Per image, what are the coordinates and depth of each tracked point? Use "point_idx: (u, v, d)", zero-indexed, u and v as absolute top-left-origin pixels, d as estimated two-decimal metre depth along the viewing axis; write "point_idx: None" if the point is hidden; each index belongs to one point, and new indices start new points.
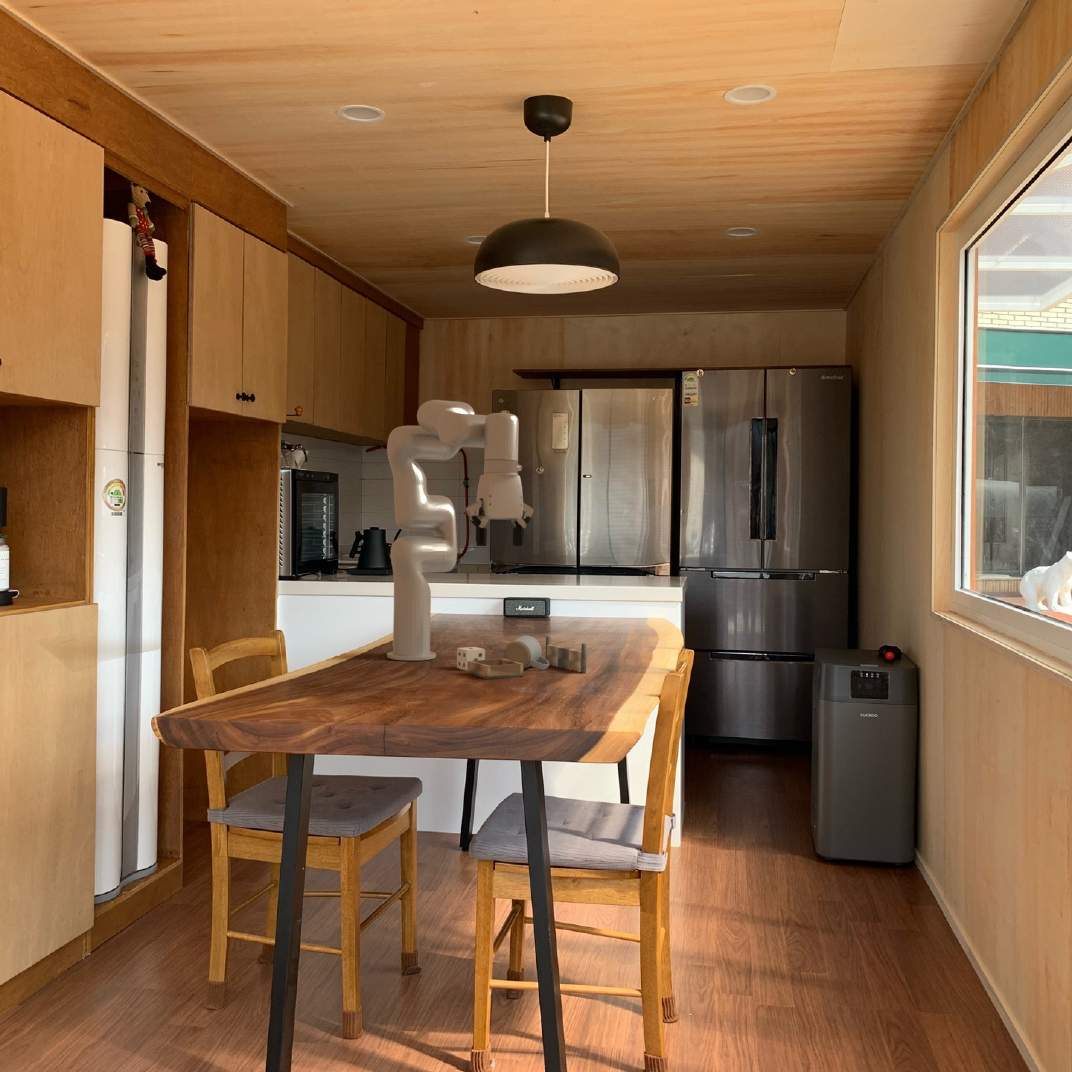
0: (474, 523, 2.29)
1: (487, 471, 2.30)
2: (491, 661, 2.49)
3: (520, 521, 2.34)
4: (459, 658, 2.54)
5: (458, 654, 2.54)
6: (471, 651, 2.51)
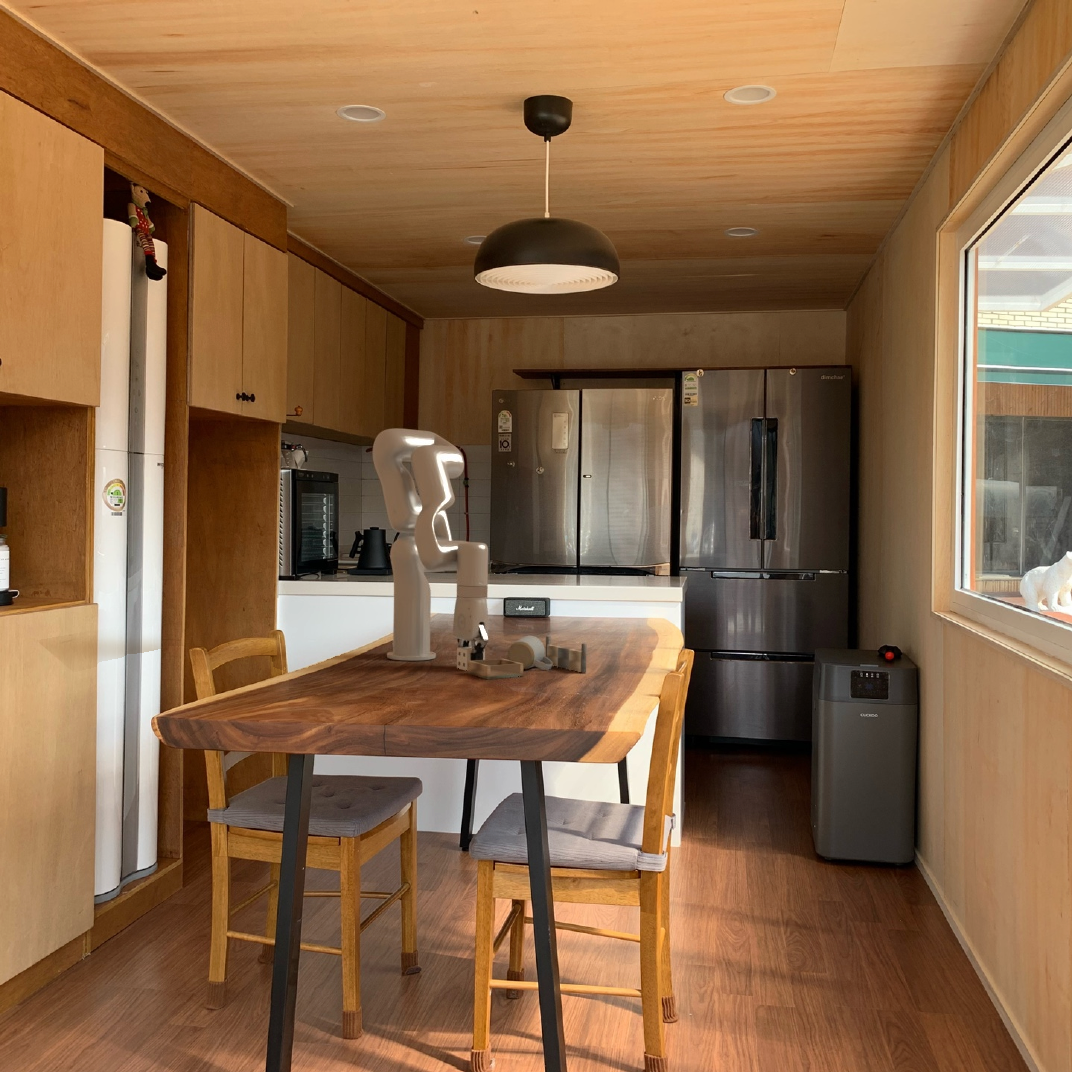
0: (480, 649, 2.50)
1: (480, 596, 2.51)
2: (491, 661, 2.49)
3: None
4: (459, 657, 2.54)
5: (458, 654, 2.54)
6: (471, 651, 2.51)
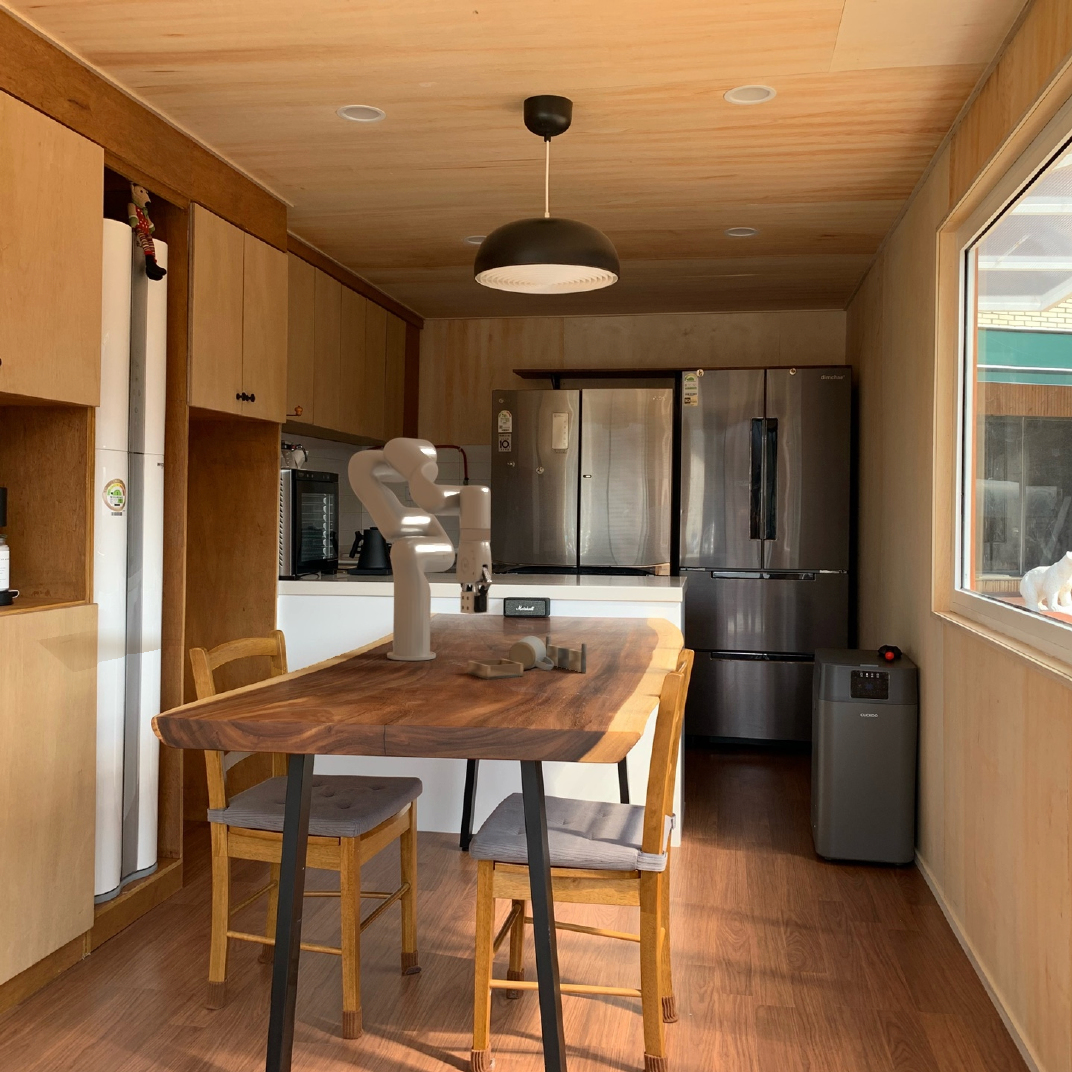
0: (484, 592, 2.49)
1: (483, 539, 2.50)
2: (491, 661, 2.49)
3: None
4: (462, 601, 2.53)
5: (461, 598, 2.53)
6: (475, 594, 2.50)
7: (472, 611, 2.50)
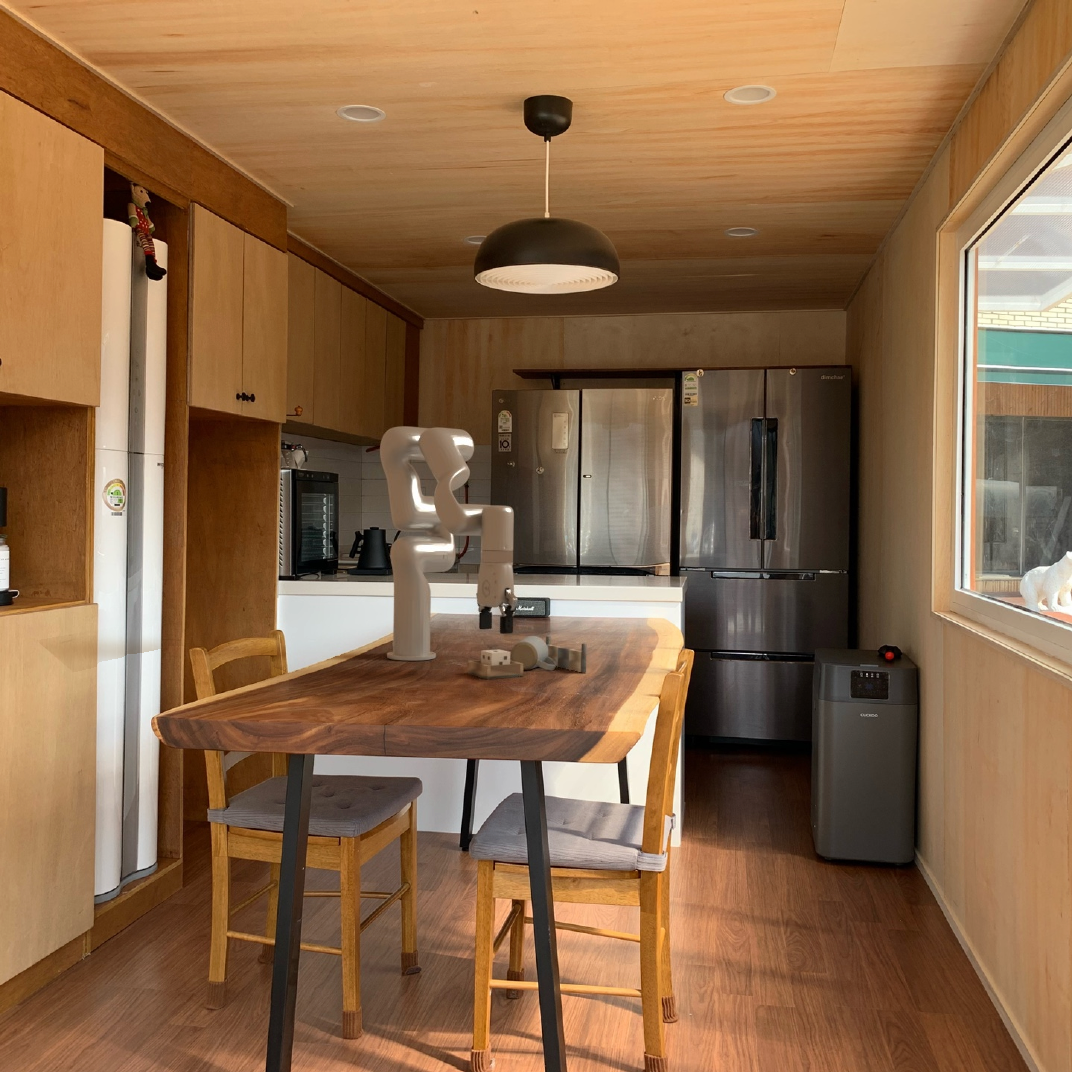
0: (510, 612, 2.38)
1: (505, 561, 2.41)
2: None
3: None
4: (483, 661, 2.44)
5: (482, 657, 2.44)
6: (496, 654, 2.42)
7: None
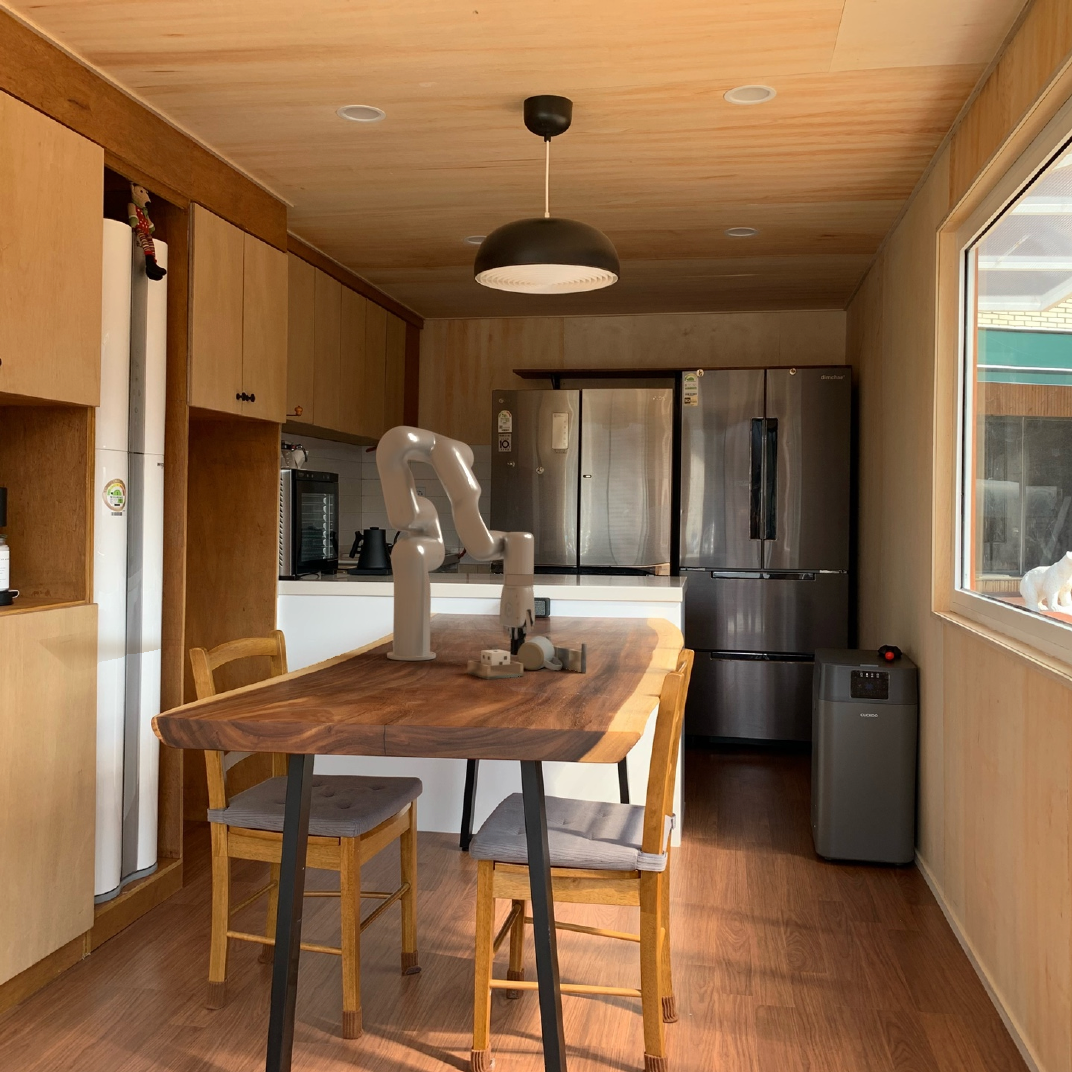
0: (522, 635, 2.59)
1: (527, 584, 2.58)
2: None
3: None
4: (483, 661, 2.44)
5: (482, 657, 2.44)
6: (496, 654, 2.42)
7: None
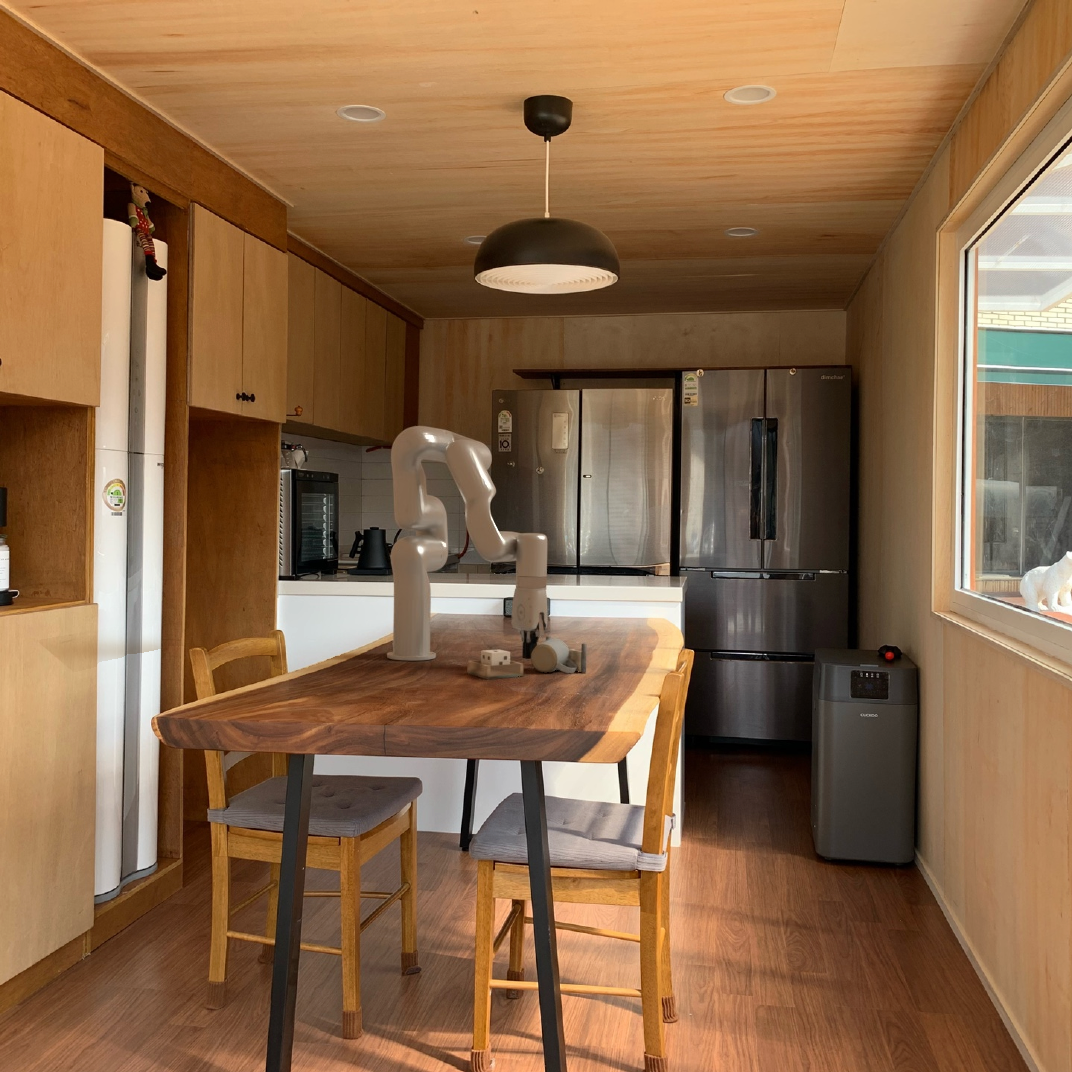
0: (535, 639, 2.54)
1: (540, 587, 2.52)
2: None
3: None
4: (483, 661, 2.44)
5: (482, 657, 2.44)
6: (496, 654, 2.42)
7: None
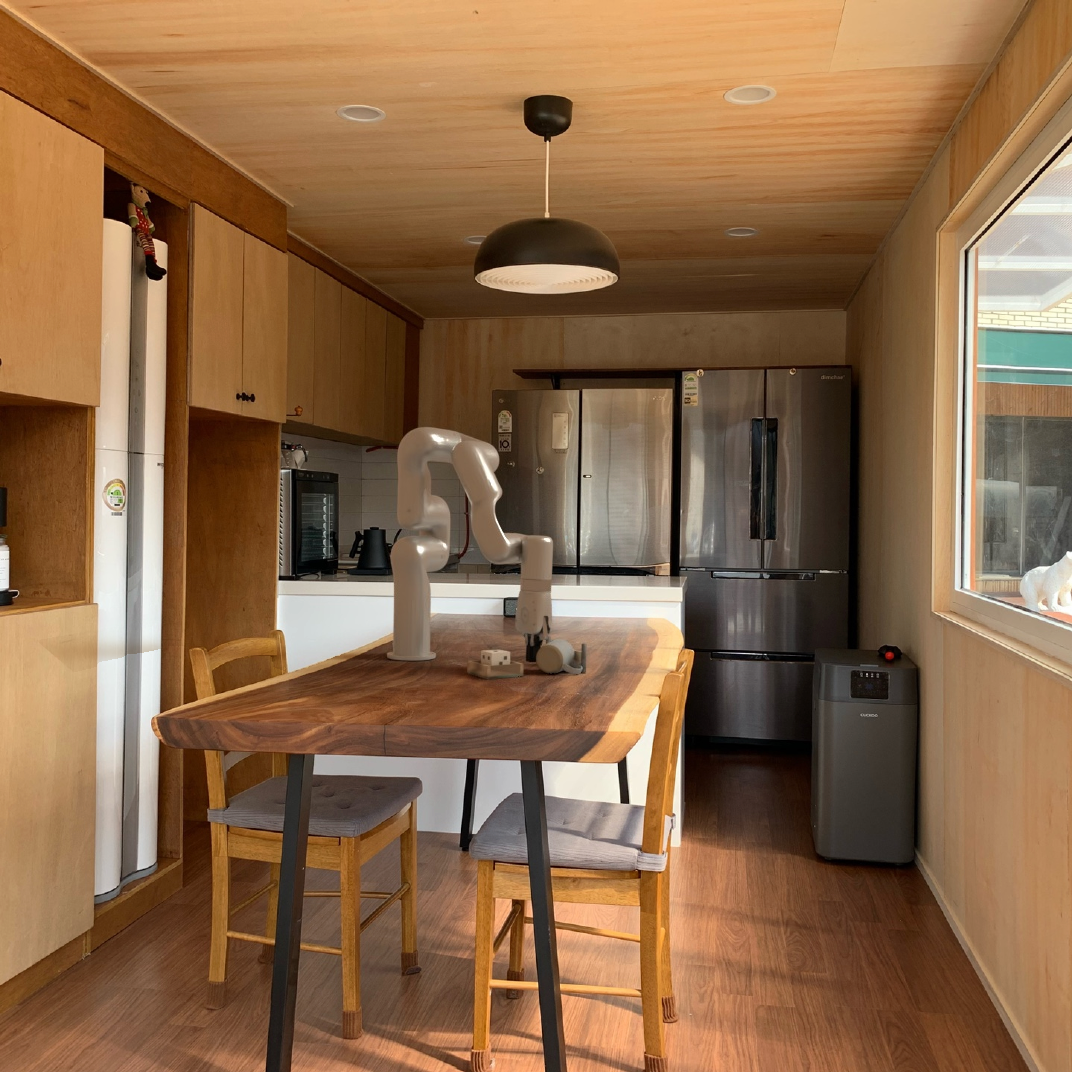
0: (538, 642, 2.51)
1: (544, 590, 2.50)
2: None
3: None
4: (483, 661, 2.44)
5: (482, 657, 2.44)
6: (496, 654, 2.42)
7: None
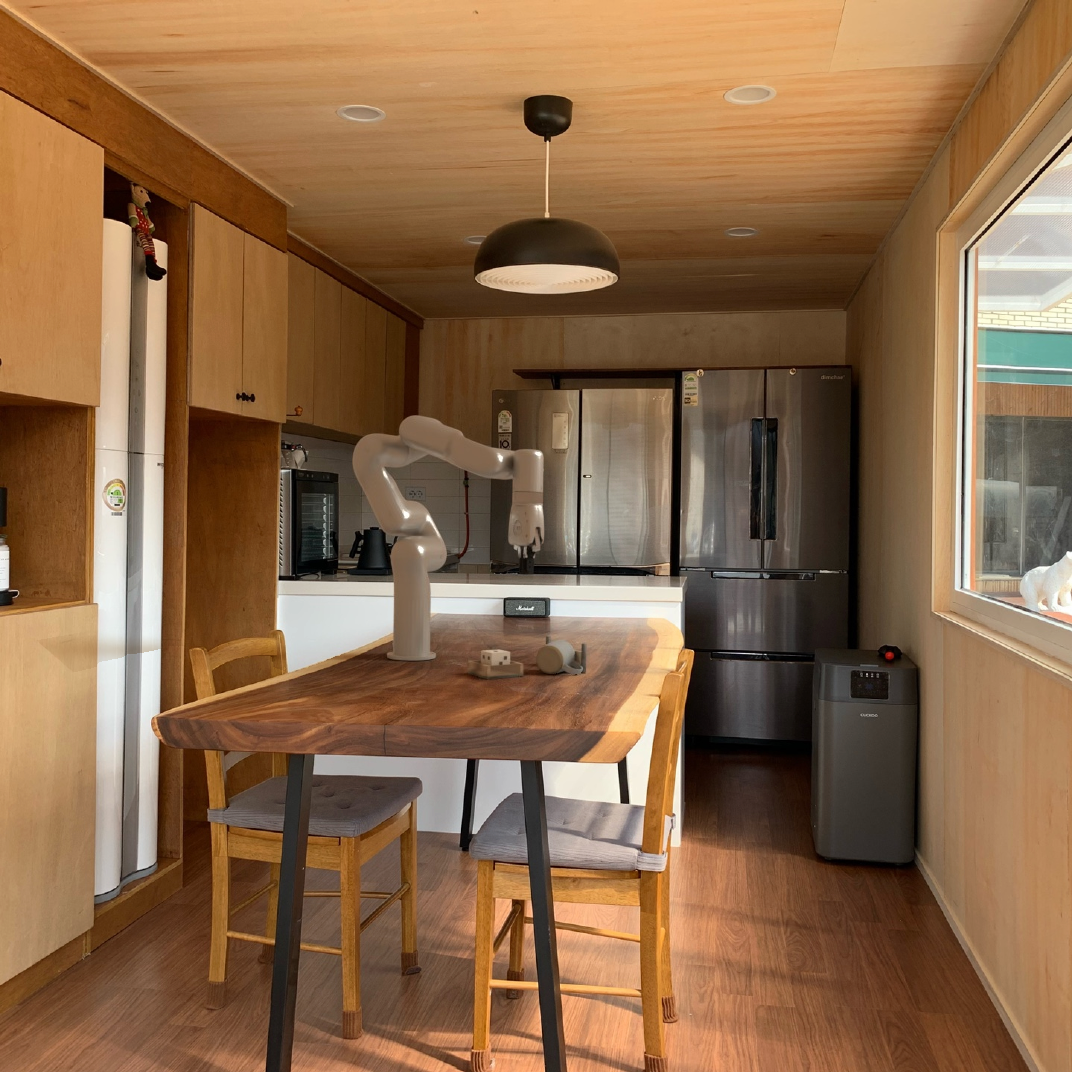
0: (531, 554, 2.55)
1: (536, 502, 2.54)
2: None
3: None
4: (483, 661, 2.44)
5: (482, 657, 2.44)
6: (496, 654, 2.42)
7: None
